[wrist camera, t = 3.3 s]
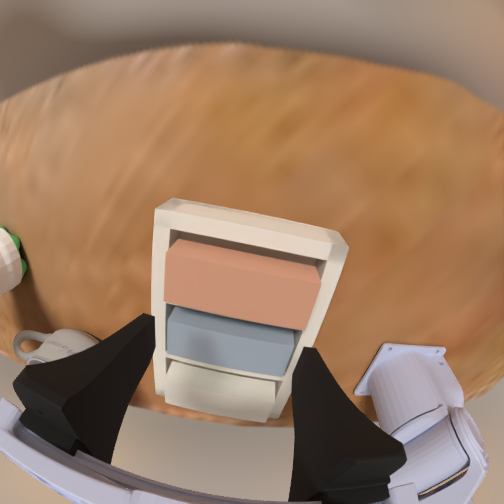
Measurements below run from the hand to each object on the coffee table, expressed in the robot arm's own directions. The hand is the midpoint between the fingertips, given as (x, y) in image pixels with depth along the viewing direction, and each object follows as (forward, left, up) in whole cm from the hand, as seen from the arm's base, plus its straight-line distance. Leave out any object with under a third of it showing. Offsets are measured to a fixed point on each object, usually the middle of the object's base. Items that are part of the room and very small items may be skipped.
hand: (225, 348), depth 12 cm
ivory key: (0, +12, -7) cm, 14 cm away
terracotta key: (0, 0, -7) cm, 7 cm away
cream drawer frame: (0, +6, -10) cm, 12 cm away
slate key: (0, +6, -8) cm, 10 cm away
